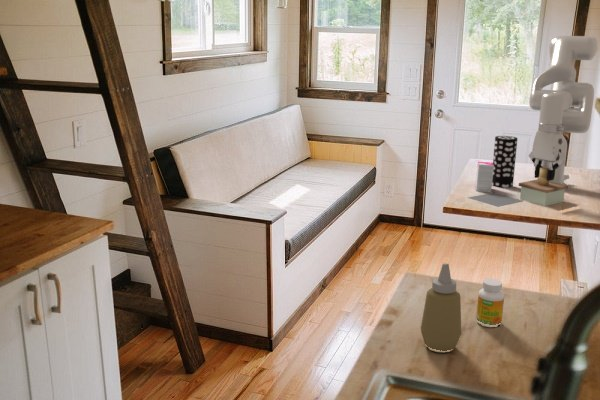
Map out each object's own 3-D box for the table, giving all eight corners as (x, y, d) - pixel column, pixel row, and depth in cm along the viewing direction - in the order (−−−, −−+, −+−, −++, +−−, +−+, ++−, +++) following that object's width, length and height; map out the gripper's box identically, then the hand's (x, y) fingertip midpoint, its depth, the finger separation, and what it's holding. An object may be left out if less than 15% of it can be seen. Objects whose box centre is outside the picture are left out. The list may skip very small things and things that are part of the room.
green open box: (538, 197, 242) (539, 182, 240) (563, 204, 233) (565, 188, 232) (519, 201, 236) (521, 185, 234) (544, 208, 228) (546, 192, 226)
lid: (539, 181, 241) (541, 163, 239) (567, 188, 231) (570, 169, 230) (518, 185, 235) (520, 167, 233) (546, 193, 225) (549, 173, 223)
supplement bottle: (477, 327, 139) (480, 285, 137) (474, 316, 144) (478, 276, 142) (502, 329, 139) (507, 287, 136) (499, 318, 144) (503, 278, 141)
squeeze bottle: (415, 338, 134) (420, 257, 130) (452, 337, 135) (459, 256, 130) (425, 358, 127) (431, 272, 122) (465, 356, 127) (472, 271, 122)
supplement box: (491, 194, 246) (494, 165, 243) (475, 193, 247) (477, 164, 244) (490, 190, 251) (492, 161, 248) (474, 189, 252) (477, 161, 249)
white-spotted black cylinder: (487, 187, 256) (491, 137, 251) (496, 183, 262) (501, 135, 256) (506, 191, 251) (511, 140, 245) (516, 187, 256) (521, 137, 251)
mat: (493, 194, 245) (493, 192, 245) (523, 203, 234) (524, 200, 234) (467, 200, 238) (467, 197, 237) (497, 209, 226) (498, 206, 226)
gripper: (577, 131, 222) (571, 182, 227) (536, 124, 236) (531, 172, 241) (564, 132, 218) (558, 185, 223) (522, 126, 232) (517, 175, 237)
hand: (544, 178), depth 232 cm, fingers open, 4 cm apart
